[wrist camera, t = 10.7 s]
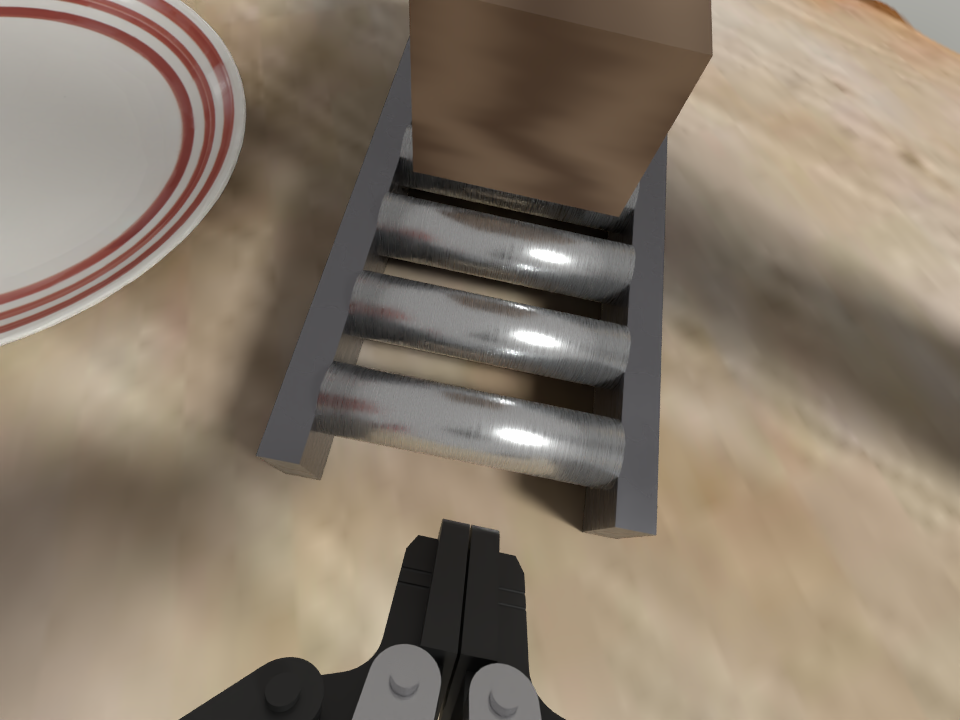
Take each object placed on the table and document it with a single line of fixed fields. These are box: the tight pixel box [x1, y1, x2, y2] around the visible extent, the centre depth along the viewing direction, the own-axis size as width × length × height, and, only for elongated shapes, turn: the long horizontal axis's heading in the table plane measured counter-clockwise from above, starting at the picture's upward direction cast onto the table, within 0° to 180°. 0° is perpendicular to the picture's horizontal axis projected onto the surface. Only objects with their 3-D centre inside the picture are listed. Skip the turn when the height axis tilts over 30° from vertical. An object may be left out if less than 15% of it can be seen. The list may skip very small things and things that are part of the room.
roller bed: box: [256, 36, 667, 539], centre depth 23 cm, size 15×30×9 cm, turn 170°
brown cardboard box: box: [409, 0, 713, 217], centre depth 22 cm, size 10×14×8 cm
